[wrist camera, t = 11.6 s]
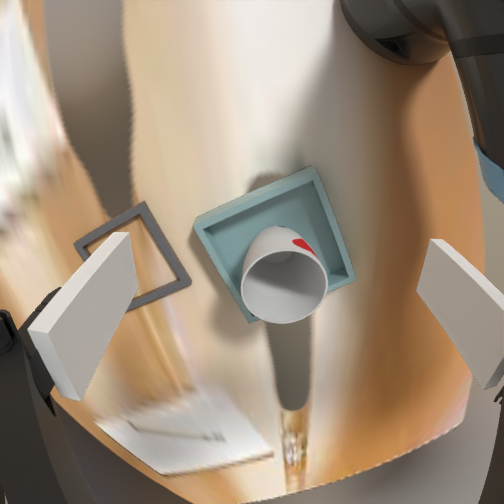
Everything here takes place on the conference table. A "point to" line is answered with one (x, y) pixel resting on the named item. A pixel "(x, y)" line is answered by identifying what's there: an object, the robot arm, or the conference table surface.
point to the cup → (282, 276)
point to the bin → (275, 213)
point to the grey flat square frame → (160, 239)
